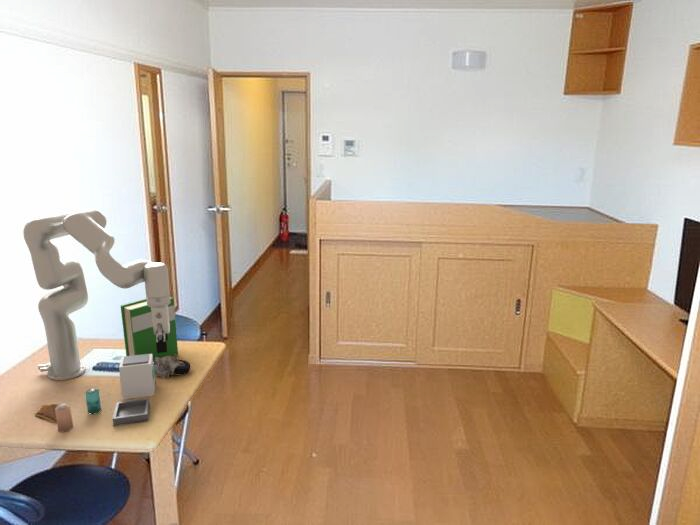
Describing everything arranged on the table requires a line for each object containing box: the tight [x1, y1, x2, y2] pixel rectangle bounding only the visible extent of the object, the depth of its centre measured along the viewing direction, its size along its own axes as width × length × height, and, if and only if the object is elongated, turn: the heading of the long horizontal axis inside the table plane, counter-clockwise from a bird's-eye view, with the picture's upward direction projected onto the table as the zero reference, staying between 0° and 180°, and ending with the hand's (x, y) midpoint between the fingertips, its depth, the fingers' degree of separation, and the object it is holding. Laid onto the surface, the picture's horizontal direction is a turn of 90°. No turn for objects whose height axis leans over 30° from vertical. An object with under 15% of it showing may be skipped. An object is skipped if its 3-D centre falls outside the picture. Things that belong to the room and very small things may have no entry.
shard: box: [34, 403, 62, 424], centre depth 167 cm, size 11×8×2 cm
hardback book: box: [120, 296, 179, 362], centre depth 204 cm, size 18×7×24 cm, turn 140°
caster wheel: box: [153, 355, 192, 380], centre depth 196 cm, size 7×11×10 cm
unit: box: [118, 354, 156, 400], centre depth 181 cm, size 11×8×13 cm
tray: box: [112, 397, 151, 427], centre depth 168 cm, size 10×10×2 cm
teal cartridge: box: [84, 387, 102, 415], centre depth 169 cm, size 4×4×8 cm
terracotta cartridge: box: [55, 403, 74, 432], centre depth 160 cm, size 4×4×8 cm
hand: (162, 346), depth 180 cm, fingers open, 9 cm apart
